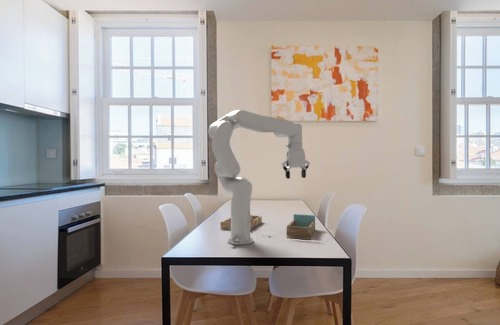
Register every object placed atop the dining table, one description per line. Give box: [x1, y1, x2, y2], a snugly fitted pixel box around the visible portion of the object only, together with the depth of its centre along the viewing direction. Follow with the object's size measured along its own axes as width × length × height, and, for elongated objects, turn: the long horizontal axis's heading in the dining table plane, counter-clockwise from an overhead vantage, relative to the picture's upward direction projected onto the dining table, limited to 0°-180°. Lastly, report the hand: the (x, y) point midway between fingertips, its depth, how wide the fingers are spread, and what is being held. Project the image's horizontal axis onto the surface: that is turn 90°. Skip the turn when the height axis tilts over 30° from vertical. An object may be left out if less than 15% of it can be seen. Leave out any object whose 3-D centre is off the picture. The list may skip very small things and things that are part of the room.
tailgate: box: [293, 213, 316, 227], centre depth 171 cm, size 1×12×8 cm, turn 71°
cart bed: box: [286, 219, 316, 241], centre depth 162 cm, size 18×12×6 cm
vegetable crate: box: [220, 214, 263, 231], centre depth 185 cm, size 26×17×4 cm, turn 161°
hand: (295, 178), depth 165 cm, fingers open, 9 cm apart
